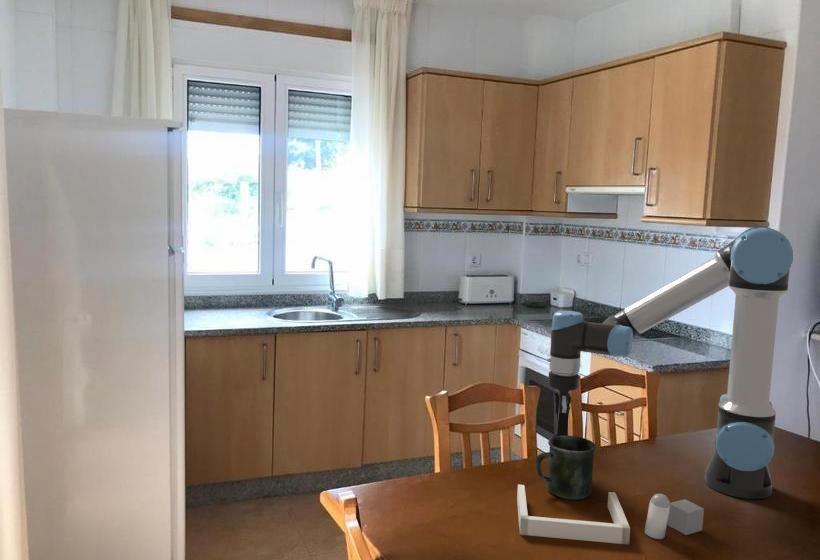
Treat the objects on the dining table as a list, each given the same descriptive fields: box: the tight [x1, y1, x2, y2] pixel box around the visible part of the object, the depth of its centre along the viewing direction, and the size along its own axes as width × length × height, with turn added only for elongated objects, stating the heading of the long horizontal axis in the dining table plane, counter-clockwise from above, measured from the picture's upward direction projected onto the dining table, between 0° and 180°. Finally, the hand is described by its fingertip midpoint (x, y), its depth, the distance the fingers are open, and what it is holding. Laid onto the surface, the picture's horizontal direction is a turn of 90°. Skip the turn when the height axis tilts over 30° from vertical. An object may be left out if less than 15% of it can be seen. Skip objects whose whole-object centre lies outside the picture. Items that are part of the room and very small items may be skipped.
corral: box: [516, 484, 631, 545], centre depth 148 cm, size 22×17×4 cm
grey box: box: [667, 498, 705, 536], centre depth 147 cm, size 5×5×5 cm
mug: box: [534, 435, 597, 500], centre depth 162 cm, size 11×15×12 cm
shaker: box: [644, 493, 671, 540], centre depth 142 cm, size 4×4×9 cm
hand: (558, 461), depth 175 cm, fingers closed
